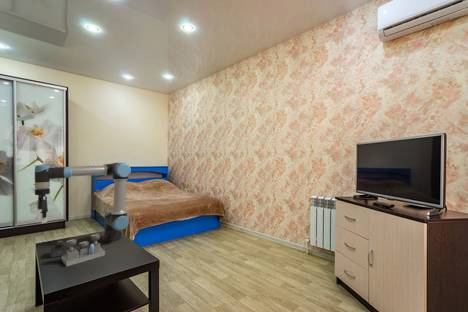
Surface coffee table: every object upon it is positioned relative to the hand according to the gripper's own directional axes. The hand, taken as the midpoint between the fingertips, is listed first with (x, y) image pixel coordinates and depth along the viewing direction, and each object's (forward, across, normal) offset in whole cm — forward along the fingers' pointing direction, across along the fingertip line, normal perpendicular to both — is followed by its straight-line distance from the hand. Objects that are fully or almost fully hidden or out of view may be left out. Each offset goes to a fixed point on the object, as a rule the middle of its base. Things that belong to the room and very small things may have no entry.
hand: (42, 220), depth 145 cm
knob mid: (+24, +12, +20) cm, 34 cm away
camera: (+28, -6, +11) cm, 30 cm away
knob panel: (+28, +12, +20) cm, 36 cm away
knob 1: (+21, +12, +13) cm, 27 cm away
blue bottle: (+24, +17, +24) cm, 38 cm away
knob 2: (+21, +12, +27) cm, 36 cm away
